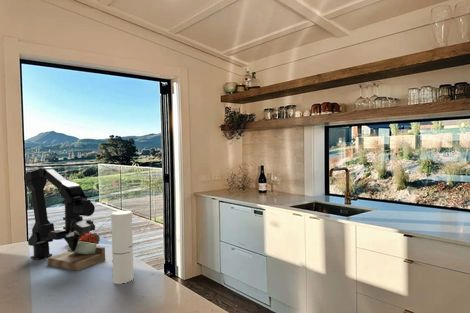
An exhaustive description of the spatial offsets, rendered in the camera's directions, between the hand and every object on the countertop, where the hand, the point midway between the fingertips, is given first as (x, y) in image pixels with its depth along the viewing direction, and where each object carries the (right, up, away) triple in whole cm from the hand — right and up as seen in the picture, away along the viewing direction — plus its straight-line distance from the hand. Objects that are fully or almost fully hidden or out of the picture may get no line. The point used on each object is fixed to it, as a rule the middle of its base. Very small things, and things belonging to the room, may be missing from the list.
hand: (73, 251), depth 136 cm
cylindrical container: (+28, -6, -18) cm, 34 cm away
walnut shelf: (+1, -5, +2) cm, 6 cm away
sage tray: (+2, -2, +3) cm, 4 cm away
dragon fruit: (-4, -5, +21) cm, 22 cm away
